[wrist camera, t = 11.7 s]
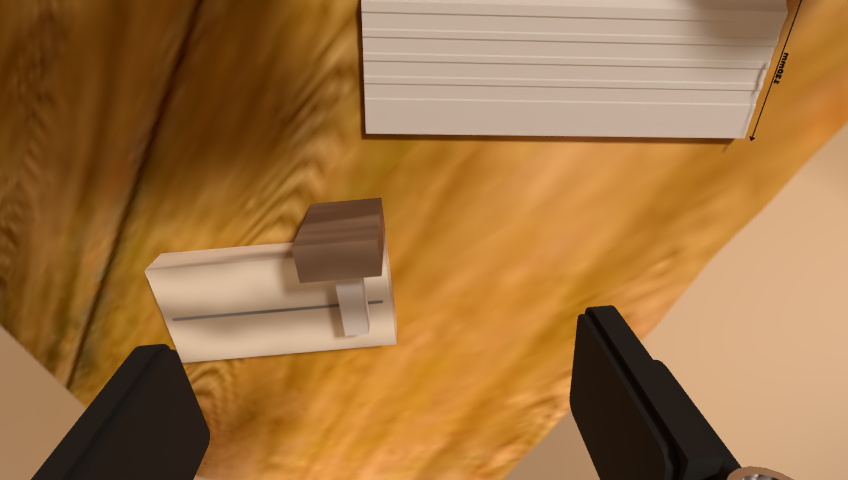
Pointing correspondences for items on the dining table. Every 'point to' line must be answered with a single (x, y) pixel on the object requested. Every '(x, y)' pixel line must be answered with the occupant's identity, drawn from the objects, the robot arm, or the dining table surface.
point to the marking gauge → (343, 253)
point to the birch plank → (259, 304)
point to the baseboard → (568, 66)
